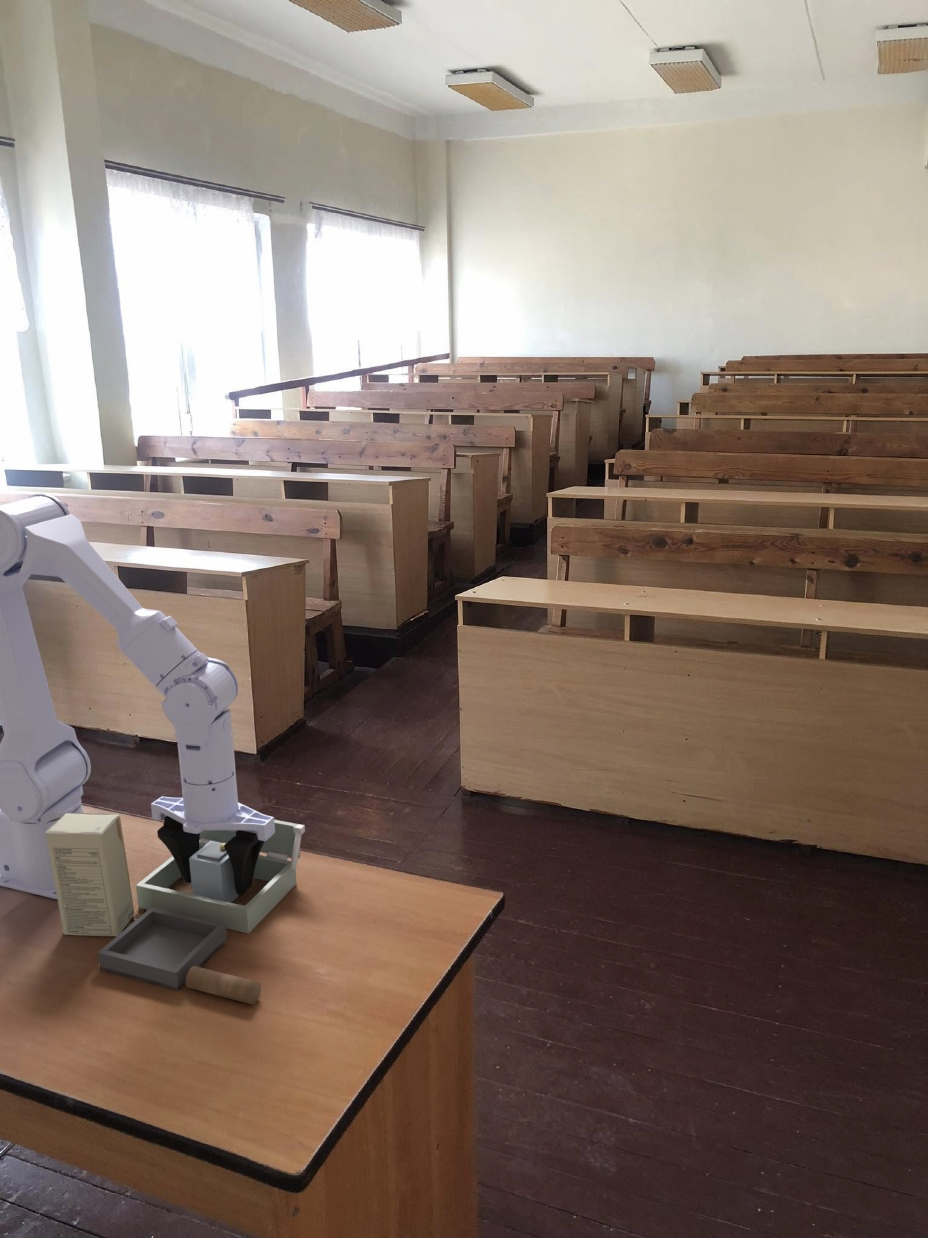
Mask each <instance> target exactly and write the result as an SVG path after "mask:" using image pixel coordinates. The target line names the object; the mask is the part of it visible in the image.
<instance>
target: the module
mask: <svg viewBox="0 0 928 1238" xmlns="http://www.w3.org/2000/svg"><path fill="white" fill-rule="evenodd" d="M225 844H226V843H219V842H214V841H210V842H208V843H207V844H206V845H205V846H204V847H202V848H201V849H200V850H199V851H197V852H196V853H195V854H194V855H193V856H191V857H190V858H189V862H190V873H191V883H190V884H191V891H192V892H191V894H193V895H198V896H202V897H207V898H211V899H216V900H220V901H225V902H229V903H233V902H234V900H235V899H237V897H238V896H239V895H238V894H237V893H236V890H235V884H234V874H233V868H232V864H231V861H230V858H229V856H228V854H227V852H226V850H225V848H224V845H225Z"/></svg>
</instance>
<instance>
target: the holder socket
mask: <svg viewBox="0 0 928 1238" xmlns="http://www.w3.org/2000/svg"><path fill="white" fill-rule="evenodd" d="M226 929H227V928H226V926H225V924H221V923H217V922H213V921H208V920H204V919H200V918H195V917H191V916H187V915H183V914H178V913H174V912H170V911H165V910H161V909H157V908H153V907H151V908H150V909H149V910H146V911H145V912H144V913H143V914H141V915H140V916H139V917H138V918H137V919H135V920H134V921H133V922H132V923H131V924H130V925H128V926H127V927H125V928H124V929H123V930H122V932H121V933H120V934H119V935H118V936H115V937H114V938H113V939H112V940H110V941H109V943H107V944H106V945H104V947H102V948H101V949H100V950H99V951H98V952H97V959H98V966H99V971H102V972H106V973H111V974H113V975H117V976H121V977H125V978H129V979H132V980H136V981H139V982H144V983H148V984H152V985H155V986H159V987H163V988H167V989H170V990H173V991H174V990H175V991H179V990H180V989H182V987H183V986H184V985H186V976H187V974H188V972H189V970H190V969H191V968H192V967H193V966H197V967H201V968H203V966H204V965H205V964H207V962H208V961H209V960H210V959H211V958H212V957H213V956H215V954H216V953H217V952H218V951H219V950H220V949H221V948H222V947H223V946H224V945H225V944H226V943H227V942H228V941H227V940H228V939H227V930H226Z"/></svg>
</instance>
